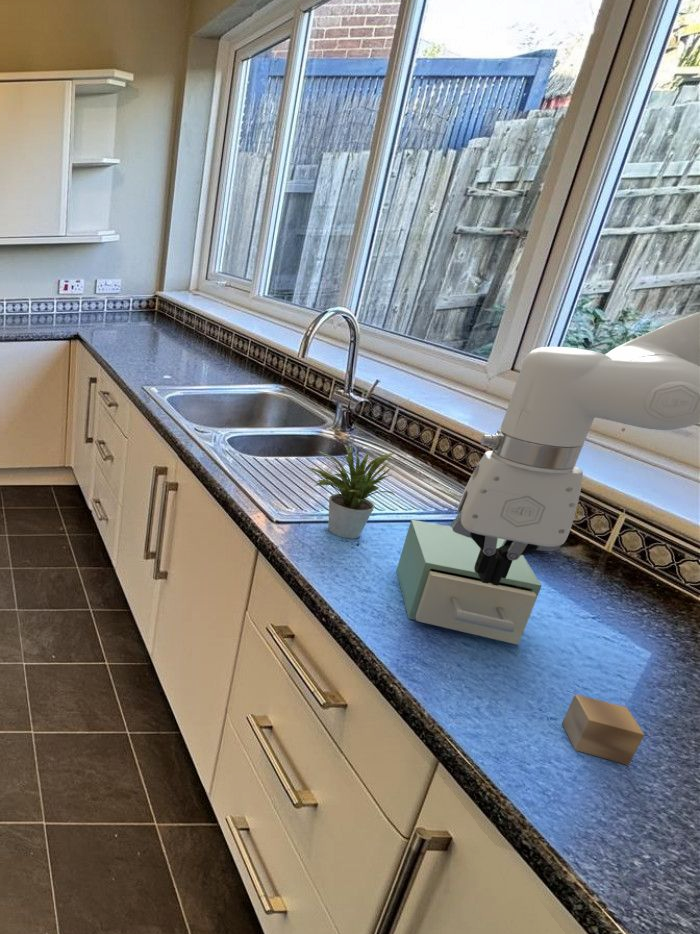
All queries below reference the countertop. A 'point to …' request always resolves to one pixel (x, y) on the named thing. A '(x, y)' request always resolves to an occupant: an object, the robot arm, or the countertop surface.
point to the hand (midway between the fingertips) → (487, 578)
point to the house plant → (352, 494)
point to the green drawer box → (447, 561)
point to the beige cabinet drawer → (475, 606)
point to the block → (602, 729)
